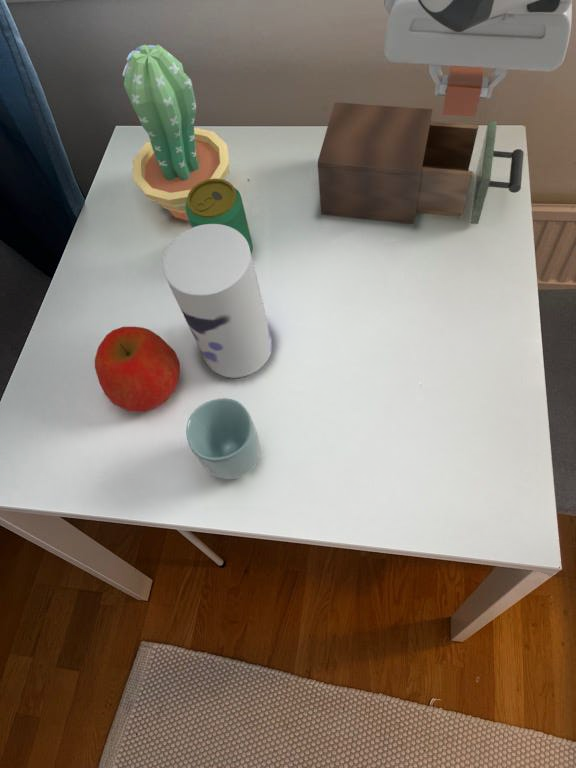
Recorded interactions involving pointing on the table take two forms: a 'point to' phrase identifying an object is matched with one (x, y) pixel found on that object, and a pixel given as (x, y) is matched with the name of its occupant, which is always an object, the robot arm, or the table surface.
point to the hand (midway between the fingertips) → (462, 93)
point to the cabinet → (373, 162)
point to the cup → (223, 438)
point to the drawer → (461, 170)
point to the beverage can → (217, 206)
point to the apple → (136, 368)
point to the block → (463, 91)
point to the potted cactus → (170, 130)
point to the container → (220, 298)
